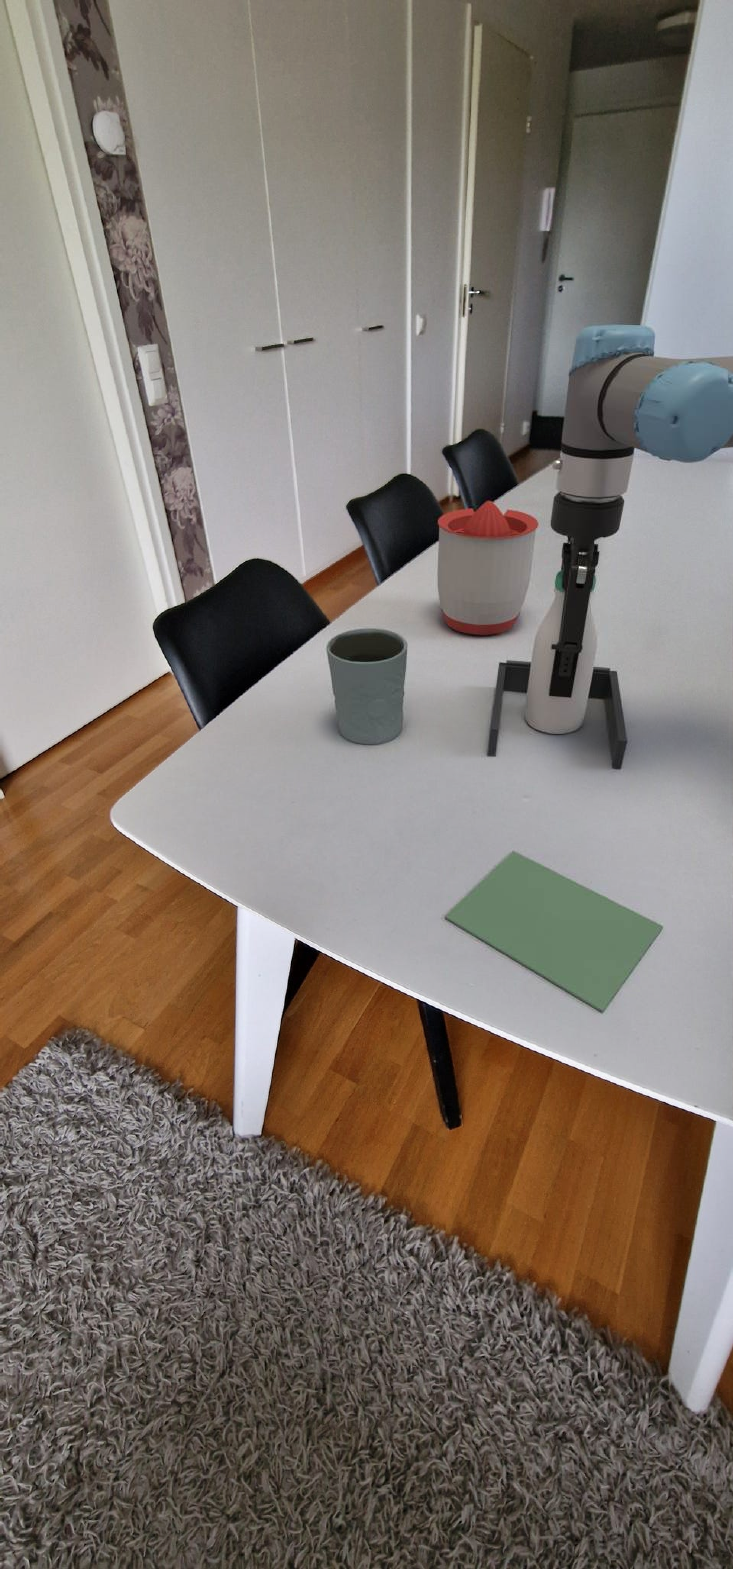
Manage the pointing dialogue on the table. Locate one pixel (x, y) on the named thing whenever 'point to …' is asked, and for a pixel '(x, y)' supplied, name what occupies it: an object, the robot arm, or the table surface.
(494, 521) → the citrus juicer
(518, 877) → the mat
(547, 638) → the milk bottle
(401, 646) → the grey-green cup
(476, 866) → the table surface
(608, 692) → the dark grey u-shaped frame
